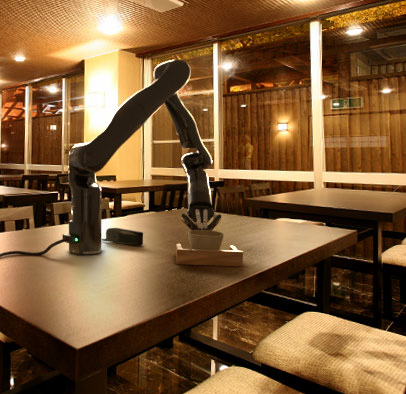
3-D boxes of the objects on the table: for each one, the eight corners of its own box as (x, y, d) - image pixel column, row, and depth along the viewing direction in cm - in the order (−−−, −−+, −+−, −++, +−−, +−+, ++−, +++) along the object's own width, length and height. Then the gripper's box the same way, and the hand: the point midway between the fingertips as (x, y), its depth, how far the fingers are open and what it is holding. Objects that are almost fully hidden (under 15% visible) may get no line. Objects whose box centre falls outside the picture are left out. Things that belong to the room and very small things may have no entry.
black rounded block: (144, 231, 132) (105, 225, 140) (140, 232, 129) (101, 227, 137) (143, 245, 132) (105, 239, 140) (139, 247, 130) (100, 241, 138)
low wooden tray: (242, 266, 105) (243, 251, 105) (176, 264, 108) (176, 249, 107) (234, 257, 115) (235, 243, 115) (174, 255, 118) (174, 242, 117)
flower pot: (224, 262, 110) (225, 236, 109) (187, 260, 112) (188, 235, 111) (221, 253, 120) (221, 230, 119) (187, 251, 122) (187, 229, 121)
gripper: (179, 189, 130) (181, 233, 119) (221, 189, 128) (227, 234, 117) (178, 203, 135) (180, 246, 124) (218, 204, 133) (223, 248, 123)
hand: (203, 240), depth 121 cm, fingers closed
